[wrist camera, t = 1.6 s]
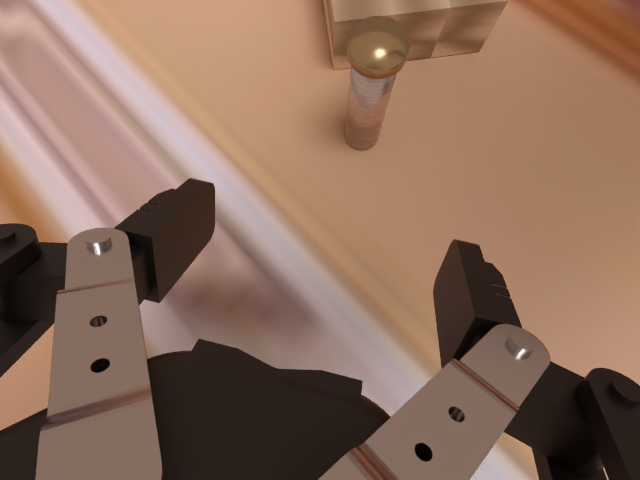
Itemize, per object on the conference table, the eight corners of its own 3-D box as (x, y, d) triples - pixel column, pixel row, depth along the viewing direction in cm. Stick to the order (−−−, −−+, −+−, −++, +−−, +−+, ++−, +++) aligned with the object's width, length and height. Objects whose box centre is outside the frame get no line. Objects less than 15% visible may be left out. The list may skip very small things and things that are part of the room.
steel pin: (378, 114, 29) (404, 12, 20) (385, 151, 29) (415, 65, 19) (338, 119, 29) (344, 19, 20) (344, 156, 29) (353, 72, 19)
